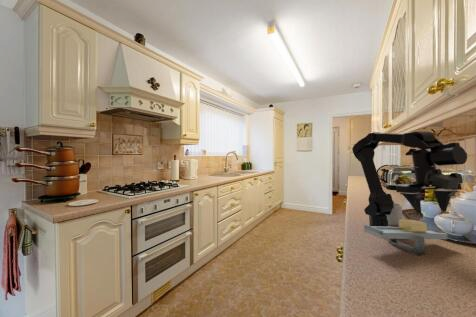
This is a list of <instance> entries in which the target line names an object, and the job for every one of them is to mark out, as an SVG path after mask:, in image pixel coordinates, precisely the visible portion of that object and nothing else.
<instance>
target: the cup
mask: <svg viewBox="0 0 476 317" xmlns="http://www.w3.org/2000/svg"><path fill="white" fill-rule="evenodd" d="M393 205H394V208H393V209H392V211H391V214H390V215H386V216H387V220H388V226H393V227H399V219H402V220H403V208H402V206H403V205H402V204H400V203H395V202H394V203H393Z"/></svg>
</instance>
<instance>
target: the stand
mask: <svg viewBox="0 0 476 317" xmlns="http://www.w3.org/2000/svg"><path fill="white" fill-rule="evenodd" d="M388 244H390V245H393V246H395V247H397V248H400V249H402V250H405V251H407V252H409V253H412V254H414V255H417V256H419V257H420V256H421V257H422V256H425V255H426V243H425V239H424V237H421V236H420V237H415V240H414V246H412V245H409V244H407V243H404V242H402V241H399V240H398V239H388Z"/></svg>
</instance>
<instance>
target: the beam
mask: <svg viewBox="0 0 476 317" xmlns="http://www.w3.org/2000/svg"><path fill="white" fill-rule="evenodd" d="M369 225H370V224H364V225H363V232H364V233H367V234H369V235H371V236H374V237H377V238H379V239H388V240H389V239H397V240H402V239H405V240H406V239H407V240H413V241H415V237H420V236H421V237H424V240H448V233H446V232H436V231H433V230H430V229H429V228H428V227H426V233H413V232H404V231H401V230H399V226H388V227H378V226H369Z"/></svg>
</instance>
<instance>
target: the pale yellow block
mask: <svg viewBox="0 0 476 317" xmlns="http://www.w3.org/2000/svg"><path fill="white" fill-rule="evenodd" d="M398 227H399V230H401V231H404V232H413V233H426V228H427V227H428V226H427V222H423V221H419V220H415V219H403V218H402V219H399V226H398Z"/></svg>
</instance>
